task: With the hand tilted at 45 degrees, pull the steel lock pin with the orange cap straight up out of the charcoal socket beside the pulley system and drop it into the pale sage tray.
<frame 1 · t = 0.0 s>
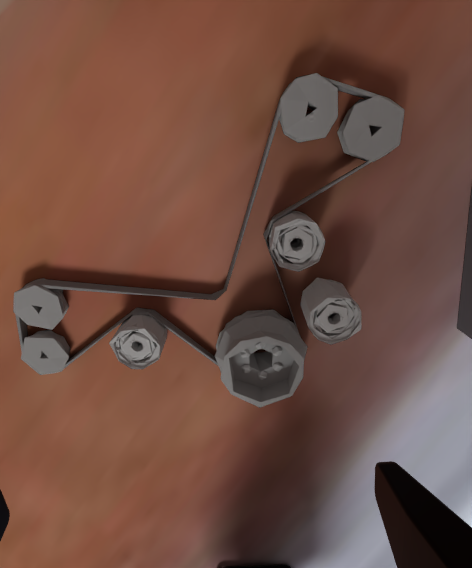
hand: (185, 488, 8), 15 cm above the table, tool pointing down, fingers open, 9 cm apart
pulley system: (221, 288, 23), on the table
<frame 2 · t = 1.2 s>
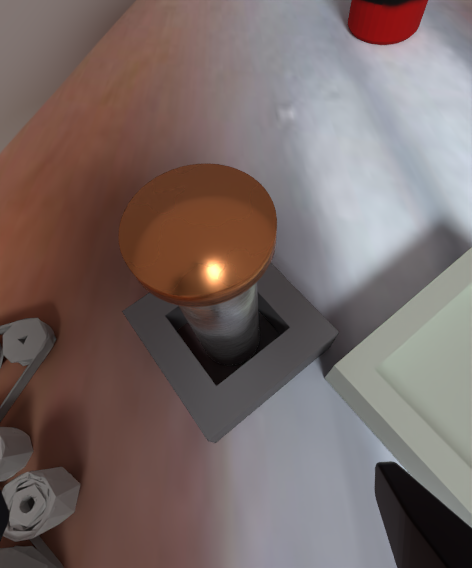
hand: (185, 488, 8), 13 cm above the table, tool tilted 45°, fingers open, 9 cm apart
lock pin: (219, 298, 18), in the pin socket
soda can: (381, 28, 39), on the table
pin socket: (230, 336, 24), on the table
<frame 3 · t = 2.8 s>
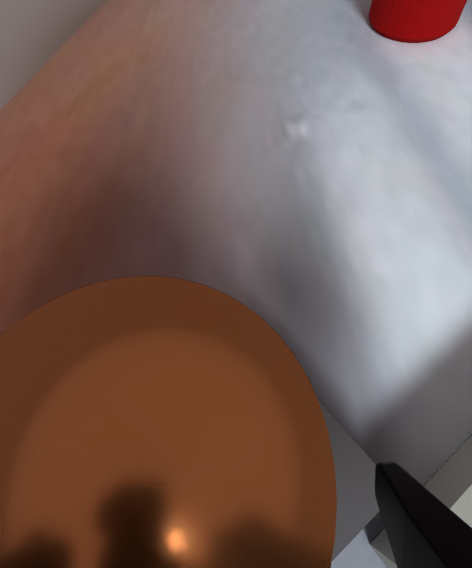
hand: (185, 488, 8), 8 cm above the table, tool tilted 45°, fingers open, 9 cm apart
lock pin: (199, 465, 10), in the pin socket
soda can: (410, 23, 31), on the table
pin socket: (224, 464, 16), on the table
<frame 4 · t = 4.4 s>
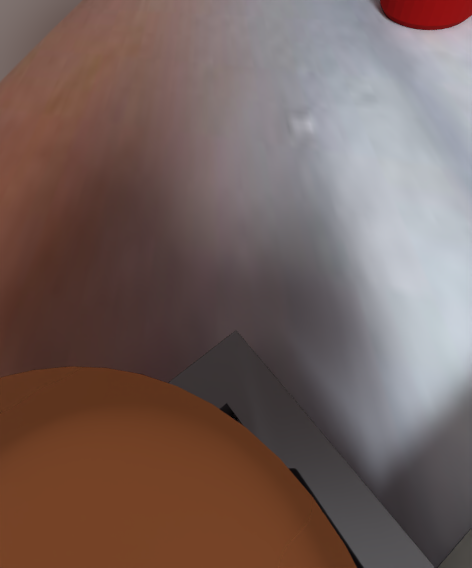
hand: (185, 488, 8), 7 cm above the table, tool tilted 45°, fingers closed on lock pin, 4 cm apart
lock pin: (188, 557, 8), in the pin socket, touching gripper
soda can: (424, 9, 29), on the table
pin socket: (221, 516, 14), on the table
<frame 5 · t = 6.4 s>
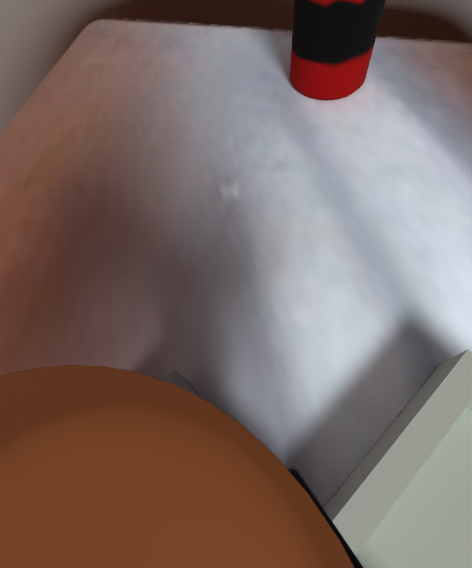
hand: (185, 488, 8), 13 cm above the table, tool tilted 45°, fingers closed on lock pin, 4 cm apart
lock pin: (187, 556, 8), point 13 cm above the table, touching gripper
soda can: (326, 80, 36), on the table
pin socket: (175, 499, 20), on the table
when the fingers open (9 cm above the table, at t = 8.6 s): lock pin drops 1 cm, resting on tray.
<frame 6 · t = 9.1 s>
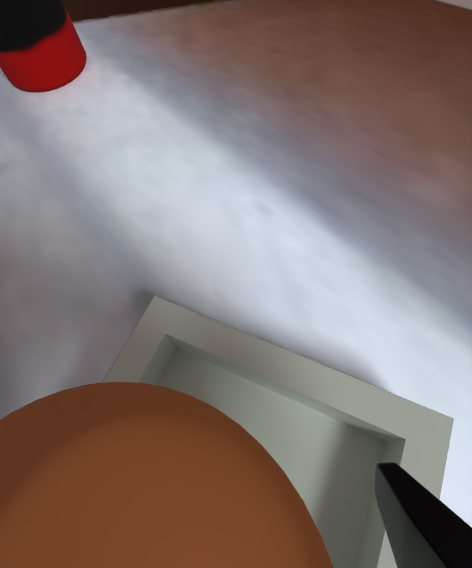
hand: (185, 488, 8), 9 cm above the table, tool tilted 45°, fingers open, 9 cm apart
lock pin: (196, 542, 9), in the tray, point 8 cm above the table
tray: (228, 508, 16), on the table
soda can: (51, 71, 33), on the table
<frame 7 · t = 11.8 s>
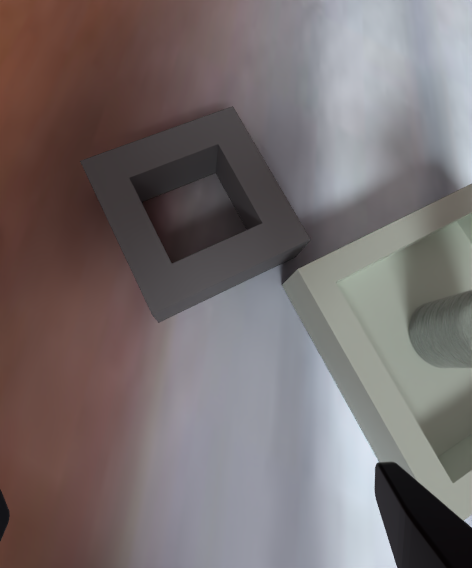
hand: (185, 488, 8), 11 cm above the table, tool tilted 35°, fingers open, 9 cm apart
tray: (429, 334, 22), on the table
pin socket: (196, 223, 22), on the table
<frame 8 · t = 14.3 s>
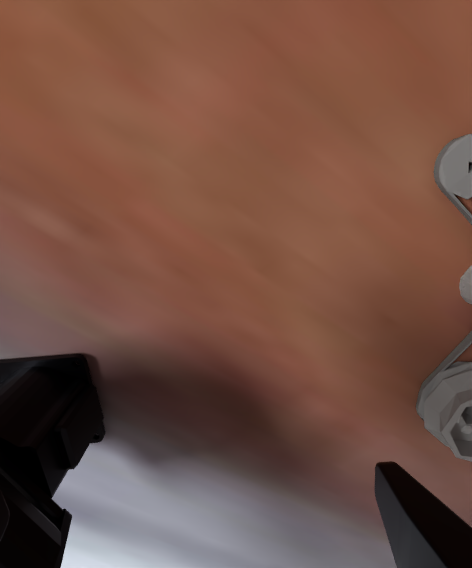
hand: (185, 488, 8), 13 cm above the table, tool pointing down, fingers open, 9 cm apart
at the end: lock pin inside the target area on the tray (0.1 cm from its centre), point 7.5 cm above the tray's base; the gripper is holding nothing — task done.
